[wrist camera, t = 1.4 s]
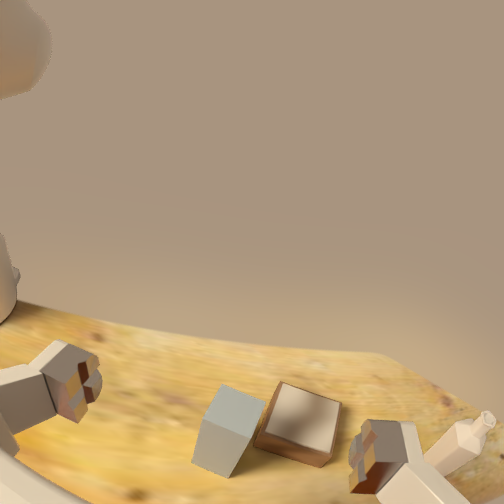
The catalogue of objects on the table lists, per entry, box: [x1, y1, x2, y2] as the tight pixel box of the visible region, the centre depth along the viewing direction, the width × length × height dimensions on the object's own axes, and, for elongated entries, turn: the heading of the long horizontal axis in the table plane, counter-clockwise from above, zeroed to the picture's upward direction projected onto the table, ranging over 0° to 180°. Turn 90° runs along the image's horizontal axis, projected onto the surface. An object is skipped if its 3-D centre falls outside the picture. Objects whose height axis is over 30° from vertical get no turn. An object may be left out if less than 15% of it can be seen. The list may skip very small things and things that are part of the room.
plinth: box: [253, 381, 342, 468], centre depth 33 cm, size 8×8×3 cm
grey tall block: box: [191, 384, 266, 478], centre depth 26 cm, size 4×4×10 cm
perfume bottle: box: [423, 410, 496, 477], centre depth 24 cm, size 5×4×15 cm
